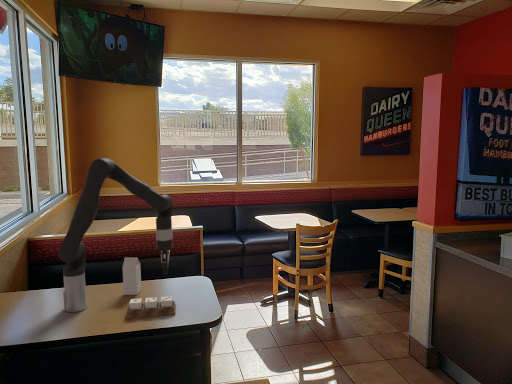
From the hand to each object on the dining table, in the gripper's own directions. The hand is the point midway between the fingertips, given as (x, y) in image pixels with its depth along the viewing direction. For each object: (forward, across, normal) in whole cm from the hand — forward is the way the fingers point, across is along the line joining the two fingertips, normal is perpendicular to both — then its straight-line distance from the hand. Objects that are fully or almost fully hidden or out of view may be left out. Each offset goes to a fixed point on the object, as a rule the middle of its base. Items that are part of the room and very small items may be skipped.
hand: (166, 271), depth 186 cm
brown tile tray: (+19, +1, -7) cm, 20 cm away
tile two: (+16, +1, -7) cm, 17 cm away
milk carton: (+19, -27, -19) cm, 38 cm away
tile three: (+16, +1, 0) cm, 16 cm away
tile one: (+16, 0, -14) cm, 21 cm away
